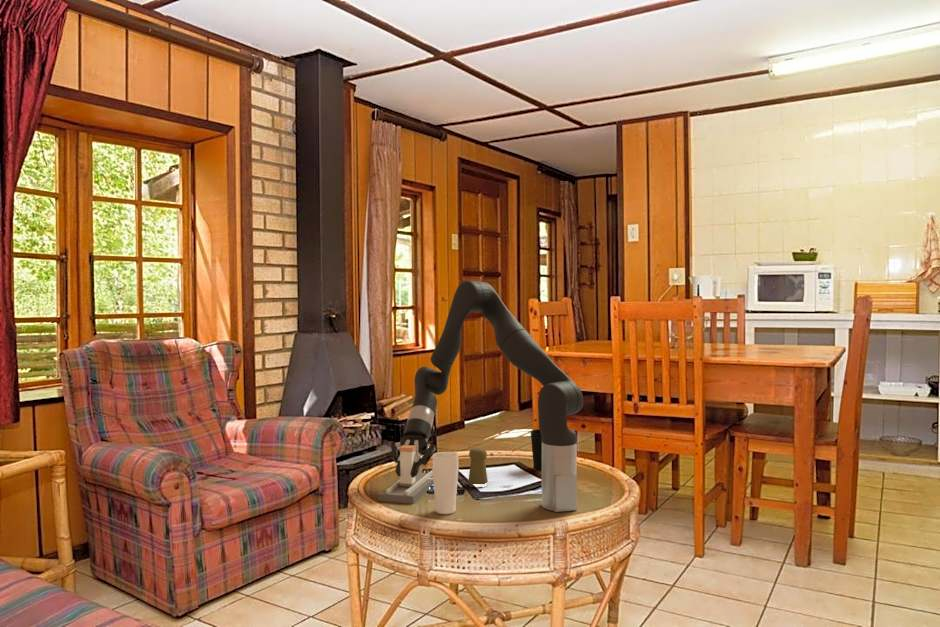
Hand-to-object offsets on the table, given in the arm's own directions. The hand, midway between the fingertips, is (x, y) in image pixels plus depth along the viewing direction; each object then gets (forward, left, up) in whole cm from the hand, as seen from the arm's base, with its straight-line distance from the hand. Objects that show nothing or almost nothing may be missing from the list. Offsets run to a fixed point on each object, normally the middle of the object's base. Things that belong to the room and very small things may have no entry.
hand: (405, 475), depth 199 cm
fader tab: (+2, -1, -3) cm, 4 cm away
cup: (+15, -48, -6) cm, 51 cm away
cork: (+3, -22, -6) cm, 23 cm away
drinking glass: (-18, -6, -6) cm, 20 cm away
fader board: (+4, -2, -6) cm, 7 cm away
